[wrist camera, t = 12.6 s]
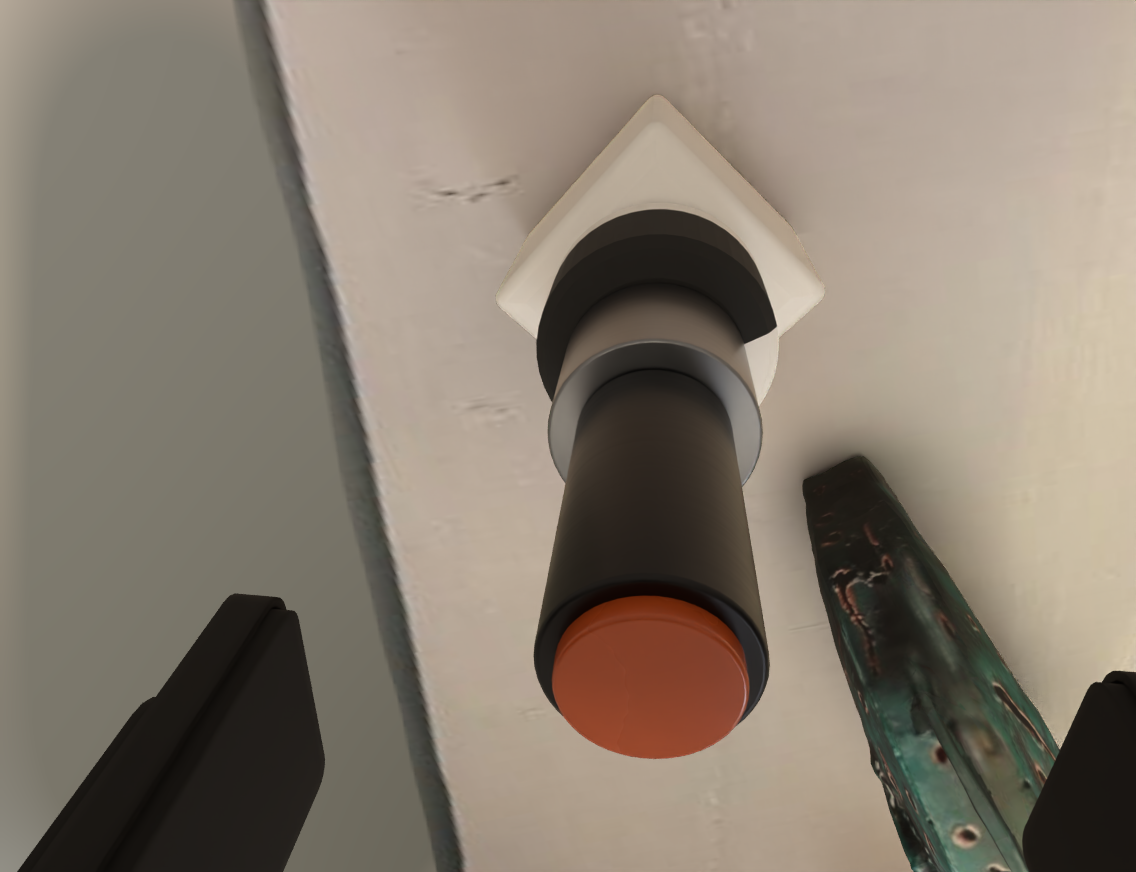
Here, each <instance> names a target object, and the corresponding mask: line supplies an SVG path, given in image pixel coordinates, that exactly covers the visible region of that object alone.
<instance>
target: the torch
mask: <svg viewBox="0 0 1136 872" xmlns="http://www.w3.org/2000/svg"><path fill="white" fill-rule="evenodd" d="M762 435H763V429H762V418H761V414H760V410H759V405H758V401H757V397H756V393H755V388H754V384H753V380H752V375H751V371H750V367H749V363H748V358H747V354H746V350H745V346H744V342H743V340H742V337H741V334H740V332H739V330H738V329H737V327H736V325H735V323H734V322H733V321H732V319H731V318H730V317H729V316H728V314H727V313H726V312H725V311H724V310H723V309H722V308H721V307H720V306H719V305H717V304H716V303H715V302H713V301H712V300H711V299H709V298H708V297H706V296H704V295H702V294H700V293H698V292H696V291H694V290H691V289H688V288H686V287H681V286H677V285H673V284H664V283H648V284H641V285H635V286H631V287H628V288H624V289H622V290H619V291H617V292H615V293H612V294H611V295H609V296H607V297H605V298H604V299H602V300H601V301H599V302H598V303H597V304H595V305H594V306H593V307H592V308H591V309H590V310H589V311H588V312H587V313H586V314H585V315H584V316H583V317H582V319H581V320H580V321H579V323H578V324H577V326H576V327H575V329H574V331H573V333H572V335H571V337H570V340H569V343H568V346H567V349H566V353H565V357H564V361H563V365H562V368H561V372H560V376H559V380H558V384H557V387H556V391H555V395H554V399H553V403H552V406H551V411H550V415H549V420H548V443H549V448H550V452H551V456H552V459H553V461H554V464H555V467H556V468H557V470H558V472H559V474H560V476H561V477H562V479H563V480H564V482H565V483H566V485H565V490H564V495H563V500H562V505H561V510H560V516H559V521H558V526H557V531H556V536H555V542H554V547H553V552H552V557H551V562H550V567H549V573H548V578H547V583H546V588H545V593H544V599H543V604H542V609H541V614H540V619H539V624H538V630H537V635H536V640H535V646H534V665H535V670H536V674H537V678H538V680H539V683H540V685H541V687H542V690H543V692H544V693H545V695H546V697H547V698H548V700H549V701H550V703H551V704H552V705H553V706H554V707H555V709H556V710H557V711H558V712H559V713H560V714H561V715H562V716H564V718H565V719H566V720H567V722H568V723H569V724H570V725H571V726H572V727H573V728H574V729H575V730H576V731H577V732H578V733H579V734H581V735H582V736H584V737H585V738H586V739H588V740H589V741H591V742H593V743H595V744H596V745H598V746H600V747H603V748H605V749H607V750H610V751H613V752H616V753H619V754H623V755H627V756H631V757H638V758H649V759H663V758H674V757H680V756H685V755H689V754H692V753H695V752H698V751H701V750H703V749H706V748H708V747H710V746H712V745H714V744H715V743H717V742H718V741H720V740H721V739H723V738H724V737H725V736H726V735H728V734H729V733H730V732H731V731H732V730H733V729H734V727H735V726H736V725H738V724H739V723H740V722H741V721H743V720H744V719H745V718H746V717H747V716H748V715H749V714H750V713H751V711H752V710H753V709H754V707H755V706H756V705H757V703H758V702H759V700H760V698H761V696H762V694H763V692H764V689H765V687H766V684H767V680H768V676H769V667H770V662H769V651H768V645H767V639H766V633H765V627H764V621H763V614H762V608H761V602H760V596H759V590H758V584H757V577H756V571H755V565H754V559H753V553H752V547H751V540H750V534H749V528H748V522H747V516H746V510H745V503H744V497H743V491H742V487H743V485H744V484H745V483H746V481H747V480H748V479H749V477H750V475H751V473H752V472H753V470H754V468H755V466H756V463H757V460H758V458H759V454H760V450H761V446H762Z"/></svg>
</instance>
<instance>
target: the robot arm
mask: <svg viewBox="0 0 1136 872" xmlns="http://www.w3.org/2000/svg"><path fill="white" fill-rule="evenodd" d="M324 765H325V757H324V750H323V745H322V740H321V734H320V729H319V724H318V719H317V713H316V708H315V703H314V698H313V692H312V687H311V682H310V676H309V671H308V666H307V661H306V655H305V650H304V645H303V640H302V635H301V629H300V624H299V619H298V616H297V613H296V612H295V611H292V610H291V611H290V610H286V607H285V604H284V601H283V600H282V599H281V598H278V597H269V596H258V595H246V594H233V595H230V596H229V597H228V598H227V599H226V600H225V601H224V602H223V604H222V605H221V607H220V608H219V609H218V611H217V612H216V614H215V615H214V616H213V618H212V619H211V621H210V622H209V624H208V625H207V626H206V628H205V629H204V630H203V632H202V633H201V635H200V636H199V637H198V639H197V640H196V642H195V643H194V644H193V646H192V647H191V649H190V650H189V651H188V653H187V654H186V656H185V657H184V658H183V660H182V661H181V662H180V664H179V665H178V667H177V668H176V669H175V671H174V672H173V674H172V675H171V676H170V678H169V679H168V681H167V682H166V683H165V685H164V686H163V688H162V689H161V690H160V692H159V693H158V695H157V696H156V697H152V698H150V699H149V700H147V701H145V702H144V703H142V704H141V705H140V707H139V708H138V709H137V710H136V711H135V712H134V713H133V714H132V716H131V717H130V718H129V720H128V721H127V722H126V724H125V725H124V726H123V728H122V729H121V731H120V732H119V733H118V735H117V736H116V737H115V739H114V740H113V742H112V743H111V744H110V746H109V747H108V748H107V750H106V751H105V752H104V754H103V755H102V757H101V758H100V759H99V761H98V762H97V763H96V765H95V766H94V767H93V769H92V770H91V772H90V773H89V775H88V776H87V777H86V779H85V780H84V781H83V782H82V784H81V785H80V787H79V788H78V789H77V791H76V792H75V794H74V795H73V796H72V798H71V799H70V800H69V802H68V803H67V804H66V806H65V807H64V808H63V810H62V811H61V813H60V814H59V815H58V817H57V818H56V820H55V821H54V822H53V824H52V825H51V826H50V828H49V829H48V830H47V832H46V833H45V835H44V836H43V837H42V839H41V840H40V841H39V843H38V844H37V845H36V847H35V848H34V850H33V851H32V852H31V854H30V855H29V856H28V858H27V859H26V861H25V862H24V863H23V865H22V866H21V867H20V869H19V870H18V871H17V872H283V871H284V868H285V866H286V864H287V861H288V859H289V857H290V854H291V852H292V850H293V847H294V845H295V843H296V841H297V838H298V836H299V834H300V831H301V829H302V827H303V824H304V822H305V820H306V818H307V815H308V813H309V811H310V808H311V806H312V804H313V801H314V799H315V797H316V794H317V792H318V790H319V787H320V784H321V782H322V777H323V773H324ZM1022 848H1023V854H1024V859H1025V862H1026V865H1027V867H1028V870H1029V872H1136V672H1125V671H1112V672H1110V673H1109V674H1107V675H1106V677H1105V678H1104V680H1103V681H1102V682H1095V683H1093V684H1092V685H1091V686H1090V687H1089V689H1088V690H1087V692H1086V694H1085V697H1084V699H1083V701H1082V703H1081V705H1080V708H1079V710H1078V712H1077V714H1076V716H1075V718H1074V721H1073V723H1072V725H1071V727H1070V729H1069V732H1068V734H1067V736H1066V738H1065V740H1064V742H1063V745H1062V747H1061V749H1060V751H1059V753H1058V755H1057V758H1056V760H1055V762H1054V764H1053V766H1052V769H1051V771H1050V773H1049V775H1048V777H1047V779H1046V782H1045V784H1044V786H1043V788H1042V790H1041V793H1040V795H1039V797H1038V799H1037V801H1036V803H1035V806H1034V808H1033V810H1032V812H1031V814H1030V816H1029V819H1028V821H1027V823H1026V825H1025V827H1024V831H1023V836H1022Z"/></svg>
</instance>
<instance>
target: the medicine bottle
mask: <svg viewBox="0 0 1136 872" xmlns="http://www.w3.org/2000/svg"><path fill="white" fill-rule="evenodd" d="M648 283H664V284H673V285H677V286H681V287H686V288H688V289H691V290H694V291H696V292H698V293H700V294H702V295H704V296H706V297H708V298H709V299H711V300H712V301H713V302H715V303H716V304H717V305H719V306H720V307H721V308H722V309H723V310H724V311H725V312H726V313H727V314H728V316H729V317H730V318H731V319H732V321H733V322H734V323H735V325H736V327H737V329H738V330H739V332H740V334H741V337H742V340H743V342H744V346H745V350H746V354H747V358H748V363H749V367H750V371H751V375H752V380H753V384H754V388H755V393H756V397H757V401H758V405H759V406H760V404H761V403H762V401H763V400H764V398H765V396H766V394H767V392H768V390H769V389H770V386H771V383H772V381H773V378H774V375H775V371H776V367H777V362H778V353H779V337H780V336H781V335H783V334H784V333H785V332H786V331H787V330H788V329H789V328H791V327H792V326H793V325H794V324H795V323H796V322H797V321H799V320H800V319H801V318H802V317H803V316H804V315H805V314H807V313H808V312H809V311H810V310H811V309H812V308H813V307H815V306H816V305H817V304H818V303H819V302H820V301H821V300H822V299H823V297H824V295H825V287H824V285H823V283H822V281H821V279H820V278H819V276H818V274H817V272H816V270H815V268H814V267H813V265H812V263H811V261H810V259H809V257H808V256H807V254H806V252H805V250H804V248H803V247H802V245H801V243H800V241H799V239H798V237H797V236H796V234H795V232H794V230H793V228H792V227H791V226H790V225H789V224H788V223H787V222H786V221H785V219H784V218H783V217H782V216H781V215H780V214H779V213H778V212H777V211H776V210H775V209H774V208H773V207H772V206H771V205H770V204H769V203H768V202H767V201H766V200H765V199H764V198H763V197H762V196H761V195H760V194H759V193H758V192H757V191H756V190H755V189H754V188H753V187H752V186H751V185H750V184H749V183H748V182H747V181H746V180H745V179H744V178H743V177H742V176H741V175H740V174H739V173H738V172H737V171H736V170H735V169H734V168H733V167H732V166H731V165H730V164H729V163H728V161H727V160H726V159H725V158H724V157H723V156H722V155H721V154H720V153H719V152H718V151H717V150H716V149H715V148H714V147H713V146H712V145H711V144H710V143H709V142H708V141H707V140H706V139H705V138H704V137H703V136H702V135H701V134H700V133H699V132H698V131H697V130H696V129H695V128H694V127H693V126H692V125H691V124H690V123H689V122H688V121H687V120H686V119H685V118H684V117H683V116H682V115H681V114H680V113H679V112H678V111H677V110H676V109H675V108H674V107H673V106H672V105H671V103H670V102H669V101H668V100H667V99H666V98H665V97H663V96H661V95H653V96H652V97H650V98H649V99H648V100H647V101H646V102H645V103H644V105H643V106H642V107H641V108H640V109H639V110H638V111H637V112H636V114H635V115H634V116H633V117H632V118H631V119H630V120H629V121H628V123H627V124H626V125H625V126H624V127H623V128H622V129H621V131H620V132H619V133H618V134H617V135H616V136H615V137H614V138H613V140H612V141H611V142H610V143H609V144H608V145H607V146H606V148H605V149H604V150H603V151H602V152H601V153H600V154H599V155H598V157H597V158H596V159H595V160H594V161H593V162H592V163H591V164H590V166H589V167H588V168H587V169H586V170H585V171H584V172H583V174H582V175H581V176H580V177H579V178H578V179H577V180H576V181H575V183H574V184H573V185H572V186H571V187H570V188H569V189H568V190H567V192H566V193H565V194H564V195H563V196H562V197H561V198H560V200H559V201H558V202H557V203H556V204H555V205H554V206H553V207H552V209H551V210H550V211H549V212H548V213H547V214H546V215H545V217H544V218H543V219H542V220H541V221H540V222H539V223H538V224H537V226H536V227H535V228H534V229H533V230H532V231H531V232H530V233H529V235H528V236H527V238H526V240H525V242H524V244H523V245H522V247H521V249H520V251H519V253H518V255H517V257H516V258H515V260H514V262H513V264H512V266H511V268H510V270H509V271H508V273H507V275H506V277H505V279H504V281H503V282H502V284H501V286H500V288H499V290H498V292H497V294H496V303H497V305H498V306H499V307H500V308H501V309H502V310H503V311H504V312H505V313H506V314H508V315H509V316H510V317H511V318H512V319H513V320H515V321H516V322H517V323H518V324H519V325H520V326H521V327H523V328H524V329H525V330H526V331H527V332H528V333H530V334H531V335H532V336H533V337H534V338H535V339H537V361H538V367H539V372H540V375H541V379H542V382H543V385H544V387H545V389H546V391H547V393H548V395H549V397H550V399H551V401H552V403H553V399H554V395H555V391H556V387H557V384H558V380H559V376H560V372H561V368H562V365H563V361H564V357H565V353H566V349H567V346H568V343H569V340H570V337H571V335H572V333H573V331H574V329H575V327H576V326H577V324H578V323H579V321H580V320H581V319H582V317H583V316H584V315H585V314H586V313H587V312H588V311H589V310H590V309H591V308H592V307H593V306H594V305H595V304H597V303H598V302H599V301H601V300H602V299H604V298H605V297H607V296H609V295H611V294H612V293H615V292H617V291H619V290H622V289H624V288H628V287H631V286H635V285H641V284H648Z"/></svg>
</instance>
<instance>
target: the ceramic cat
mask: <svg viewBox="0 0 1136 872" xmlns="http://www.w3.org/2000/svg"><path fill="white" fill-rule="evenodd" d="M802 486H803V496H804V499H805V502H806V516H807V525H808V531H809V535H810V539H811V544H812V551H813V554H814V558H815V565H816V573H817V578H818V582H819V587H820V592H821V595H822V599H823V602H824V605H825V608H826V612H827V615H828V619H829V623H830V627H831V631H832V635H833V639H834V642H835V646H836V649H837V652H838V655H839V658H840V661H841V664H842V667H843V670H844V673H845V676H846V679H847V682H848V685H849V688H850V691H851V693H852V696H853V699H854V702H855V705H856V708H857V710H858V713H859V715H860V718H861V721H862V725H863V728H864V732H865V734H866V737H867V740H868V743H869V747H870V755H871V765H872V767H873V770H874V772H875V774H876V775H877V776H878V778H879V779H880V780H881V782H882V785H883V788H884V792H885V795H886V799H887V802H888V806H889V810H890V813H891V816H892V818H893V821H894V824H895V827H896V830H897V832H898V835H899V838H900V841H901V844H902V846H903V849H904V852H905V854H906V856H907V858H908V860H909V862H910V864H911V869H912V870H913V871H914V872H1029V870H1028V867H1027V865H1026V862H1025V859H1024V854H1023V848H1022V836H1023V831H1024V827H1025V825H1026V823H1027V821H1028V819H1029V816H1030V814H1031V812H1032V810H1033V808H1034V806H1035V803H1036V801H1037V799H1038V797H1039V795H1040V793H1041V790H1042V788H1043V786H1044V784H1045V782H1046V779H1047V777H1048V775H1049V773H1050V771H1051V769H1052V766H1053V764H1054V762H1055V760H1056V758H1057V755H1058V753H1059V751H1060V750H1059V748H1058V746H1057V744H1056V743H1055V741H1054V739H1053V737H1052V735H1051V733H1050V731H1049V730H1048V728H1047V726H1046V724H1045V722H1044V721H1043V719H1042V717H1041V715H1040V714H1039V712H1038V710H1037V709H1036V708H1035V706H1034V705H1033V704H1032V702H1031V701H1030V700H1029V698H1028V697H1027V696H1026V694H1025V693H1024V692H1023V690H1022V689H1021V688H1020V686H1019V685H1018V683H1017V681H1016V680H1015V678H1014V676H1013V675H1012V673H1011V672H1010V670H1009V668H1008V667H1007V665H1006V664H1005V662H1004V660H1003V659H1002V657H1001V656H1000V654H999V652H998V651H997V649H996V648H995V646H994V645H993V643H992V642H991V640H990V638H989V637H988V635H987V634H986V632H985V631H984V629H983V628H982V626H981V625H980V623H979V621H978V620H977V618H976V617H975V615H974V614H973V612H972V610H971V609H970V607H969V606H968V604H967V602H966V601H965V599H964V598H963V596H962V594H961V593H960V591H959V590H958V588H957V586H956V585H955V583H954V582H953V580H952V578H951V577H950V575H949V573H948V572H947V570H946V569H945V567H944V566H943V564H942V563H941V562H940V561H939V559H938V558H937V557H936V556H935V554H934V553H933V552H932V550H931V549H930V548H929V546H928V545H927V543H926V542H925V541H924V539H923V538H922V537H921V535H920V534H919V532H918V531H917V529H916V528H915V526H914V525H913V523H912V521H911V520H910V518H909V517H908V515H907V513H906V511H905V509H904V508H903V507H902V505H901V504H900V502H899V501H898V499H897V497H896V495H895V494H894V493H893V491H892V490H891V488H890V487H889V486H888V484H887V483H886V481H885V479H884V478H883V476H882V475H881V474H880V473H879V471H878V470H877V469H876V468H875V467H874V466H873V465H872V464H871V462H870V461H868V460H867V459H866V458H865V457H863V456H862V457H856V458H852V459H850V460H847V461H844V462H842V463H841V464H839V465H837V466H835V467H833V468H832V469H830V470H829V471H827V472H825V473H822V474H819V475H816V476H813V477H811V478H808V479H806V480H804V481H803V485H802Z"/></svg>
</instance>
